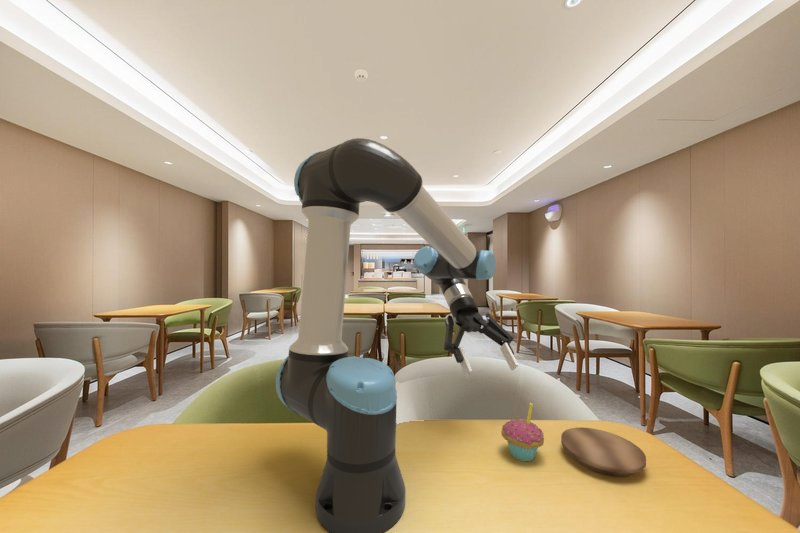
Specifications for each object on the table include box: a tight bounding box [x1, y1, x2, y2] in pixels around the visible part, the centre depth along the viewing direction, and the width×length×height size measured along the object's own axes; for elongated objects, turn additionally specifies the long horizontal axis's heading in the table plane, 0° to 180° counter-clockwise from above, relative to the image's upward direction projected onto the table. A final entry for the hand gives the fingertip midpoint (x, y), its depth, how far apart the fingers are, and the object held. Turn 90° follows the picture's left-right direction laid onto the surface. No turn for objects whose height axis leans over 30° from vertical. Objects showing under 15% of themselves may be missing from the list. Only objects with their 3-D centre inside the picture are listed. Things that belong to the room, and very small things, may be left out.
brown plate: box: [560, 427, 647, 478], centre depth 67 cm, size 15×15×3 cm
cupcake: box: [500, 399, 545, 462], centre depth 68 cm, size 9×8×12 cm
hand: (492, 370), depth 78 cm, fingers open, 13 cm apart
